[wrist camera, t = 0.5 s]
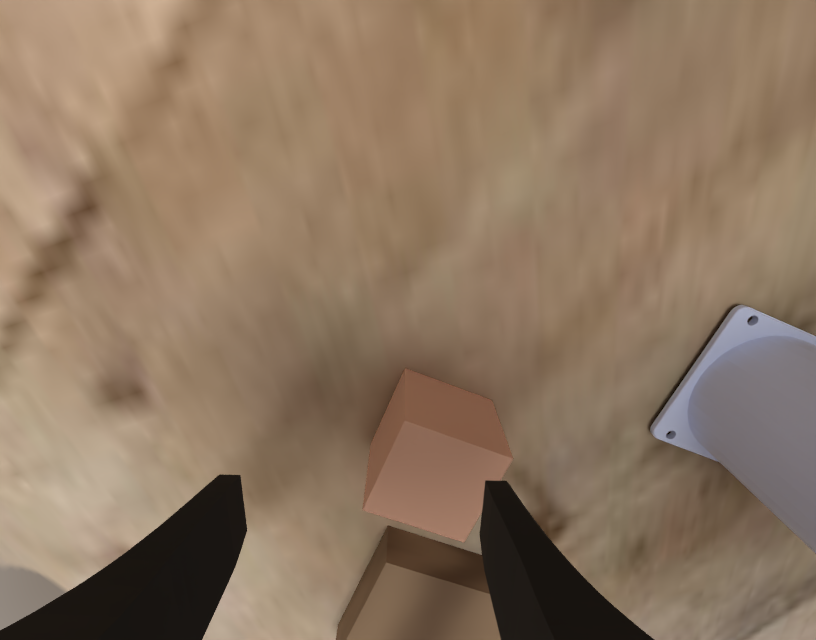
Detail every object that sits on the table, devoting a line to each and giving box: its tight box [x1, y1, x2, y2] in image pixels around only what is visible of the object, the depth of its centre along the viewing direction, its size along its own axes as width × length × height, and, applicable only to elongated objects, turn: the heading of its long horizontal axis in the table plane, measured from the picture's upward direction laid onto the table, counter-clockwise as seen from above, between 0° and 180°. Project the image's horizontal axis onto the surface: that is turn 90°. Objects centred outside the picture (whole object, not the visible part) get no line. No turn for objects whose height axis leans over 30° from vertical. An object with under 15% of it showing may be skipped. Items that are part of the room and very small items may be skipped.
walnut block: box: [336, 526, 501, 640], centre depth 27 cm, size 9×9×3 cm
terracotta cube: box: [363, 368, 513, 542], centre depth 22 cm, size 5×5×5 cm
